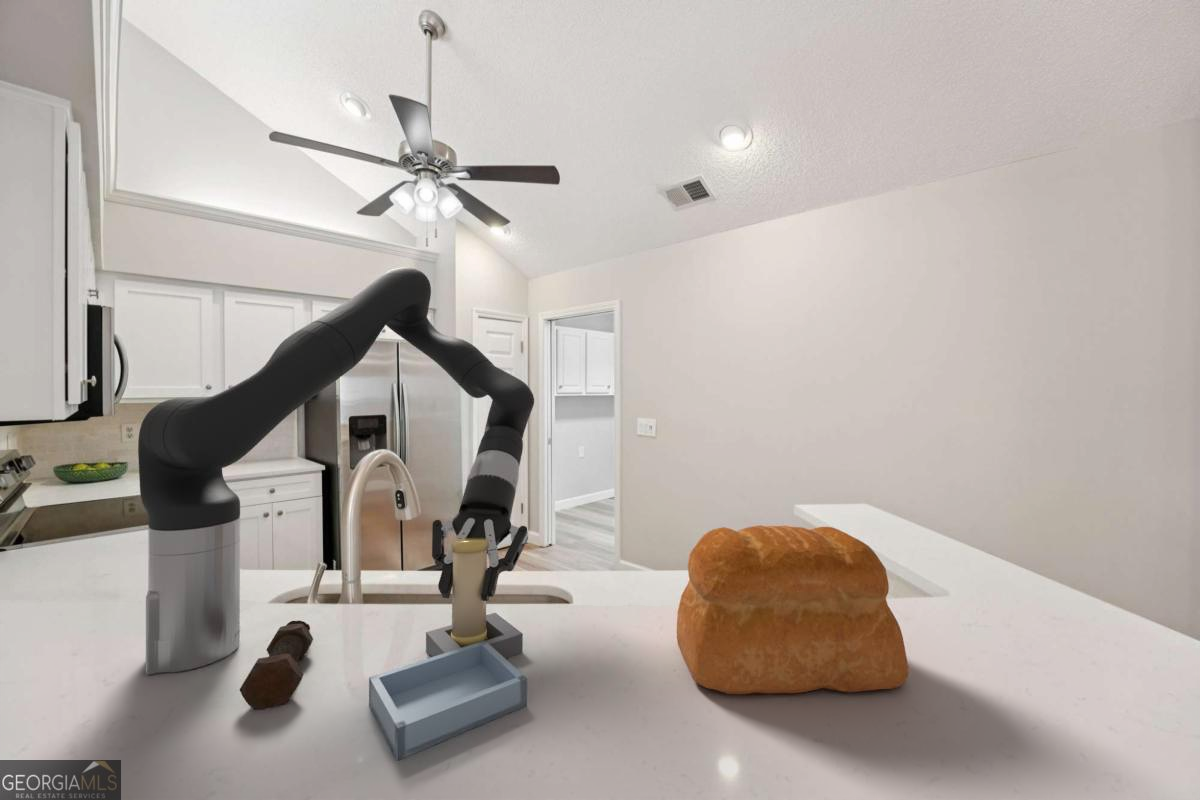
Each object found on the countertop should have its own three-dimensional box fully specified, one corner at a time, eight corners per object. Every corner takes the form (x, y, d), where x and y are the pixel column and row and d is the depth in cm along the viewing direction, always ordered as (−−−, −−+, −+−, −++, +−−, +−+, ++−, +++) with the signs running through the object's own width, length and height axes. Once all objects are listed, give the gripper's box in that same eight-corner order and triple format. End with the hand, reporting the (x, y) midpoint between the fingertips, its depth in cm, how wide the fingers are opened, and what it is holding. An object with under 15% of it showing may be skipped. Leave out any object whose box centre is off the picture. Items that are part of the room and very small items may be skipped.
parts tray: (397, 760, 46) (397, 728, 46) (369, 704, 54) (369, 676, 54) (526, 705, 54) (526, 678, 54) (484, 664, 63) (484, 640, 63)
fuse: (461, 650, 63) (462, 544, 64) (444, 640, 66) (446, 540, 67) (493, 641, 66) (494, 540, 67) (476, 632, 69) (477, 536, 70)
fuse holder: (448, 678, 60) (448, 657, 60) (425, 651, 66) (426, 632, 66) (522, 652, 66) (522, 633, 66) (495, 629, 72) (495, 612, 72)
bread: (924, 697, 57) (925, 546, 57) (697, 704, 55) (698, 548, 55) (847, 632, 72) (849, 514, 72) (669, 636, 71) (670, 515, 71)
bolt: (303, 657, 68) (278, 719, 54) (265, 644, 66) (229, 705, 52) (327, 616, 69) (309, 667, 55) (291, 602, 68) (262, 651, 54)
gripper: (539, 503, 79) (521, 612, 67) (449, 497, 79) (416, 604, 68) (536, 476, 74) (517, 589, 62) (440, 469, 74) (402, 580, 62)
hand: (464, 596), depth 65 cm, fingers closed on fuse, 4 cm apart
